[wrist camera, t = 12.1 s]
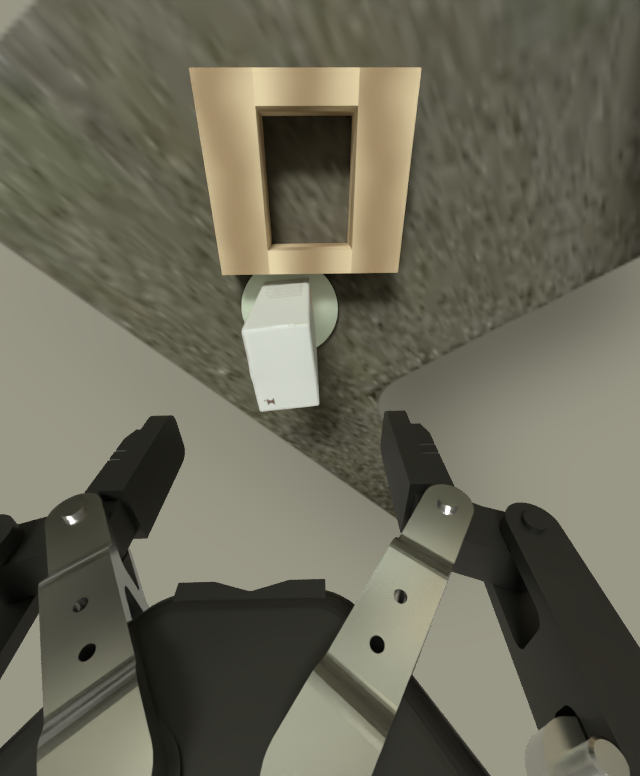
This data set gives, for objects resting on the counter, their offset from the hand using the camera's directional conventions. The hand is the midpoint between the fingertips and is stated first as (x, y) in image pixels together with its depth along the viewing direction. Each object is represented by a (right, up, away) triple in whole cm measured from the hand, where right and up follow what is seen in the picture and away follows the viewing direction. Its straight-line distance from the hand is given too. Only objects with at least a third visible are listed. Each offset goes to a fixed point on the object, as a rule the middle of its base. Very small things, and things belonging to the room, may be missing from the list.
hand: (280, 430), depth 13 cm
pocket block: (+1, +18, +13) cm, 22 cm away
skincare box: (-1, +9, +18) cm, 20 cm away
